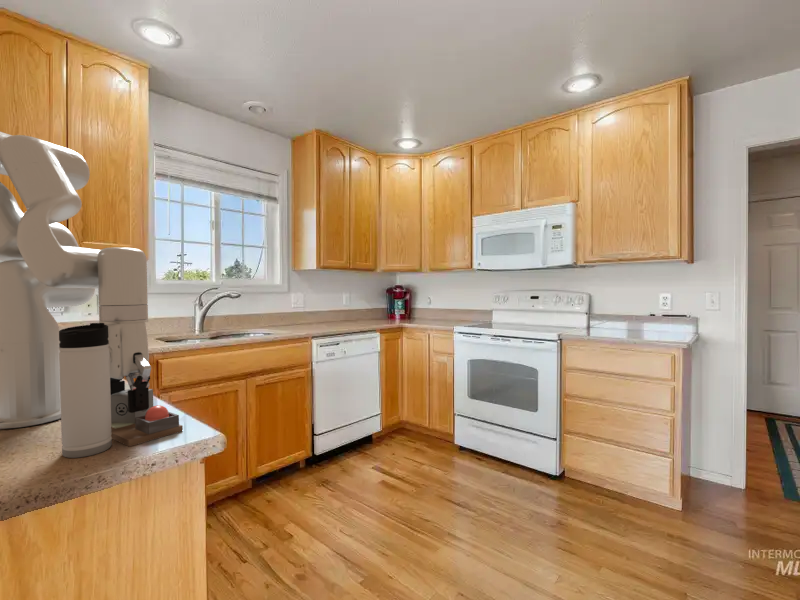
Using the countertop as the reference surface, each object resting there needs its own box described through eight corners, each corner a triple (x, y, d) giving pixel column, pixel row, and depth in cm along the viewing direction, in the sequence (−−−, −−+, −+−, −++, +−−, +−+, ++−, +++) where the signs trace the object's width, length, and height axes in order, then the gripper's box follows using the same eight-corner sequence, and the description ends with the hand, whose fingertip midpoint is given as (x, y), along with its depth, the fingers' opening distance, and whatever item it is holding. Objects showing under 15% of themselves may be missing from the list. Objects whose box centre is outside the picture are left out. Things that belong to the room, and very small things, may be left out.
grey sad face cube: (135, 423, 74) (134, 395, 74) (109, 422, 74) (108, 395, 74) (153, 414, 79) (152, 389, 79) (129, 414, 79) (128, 389, 79)
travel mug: (122, 441, 68) (118, 322, 68) (93, 458, 61) (90, 325, 61) (83, 442, 68) (80, 323, 67) (51, 459, 61) (47, 326, 61)
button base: (92, 429, 74) (91, 413, 74) (143, 417, 81) (143, 402, 81) (129, 446, 66) (128, 428, 66) (182, 431, 73) (182, 414, 73)
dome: (141, 428, 71) (141, 406, 71) (163, 422, 74) (162, 401, 74) (151, 431, 69) (150, 409, 69) (173, 426, 72) (172, 404, 72)
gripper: (81, 315, 77) (84, 404, 78) (121, 317, 67) (124, 420, 68) (126, 313, 83) (128, 395, 84) (168, 315, 74) (170, 408, 74)
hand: (126, 406), depth 76 cm, fingers open, 9 cm apart
